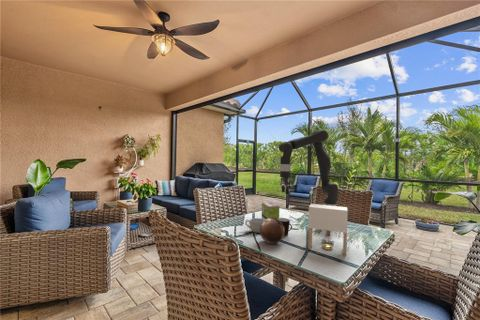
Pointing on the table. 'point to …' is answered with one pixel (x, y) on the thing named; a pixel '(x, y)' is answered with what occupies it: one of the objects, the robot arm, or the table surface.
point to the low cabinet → (328, 221)
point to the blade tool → (327, 238)
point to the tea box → (270, 210)
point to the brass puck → (327, 246)
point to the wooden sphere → (272, 230)
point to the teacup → (255, 224)
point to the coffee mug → (285, 225)
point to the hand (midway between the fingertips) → (285, 193)
